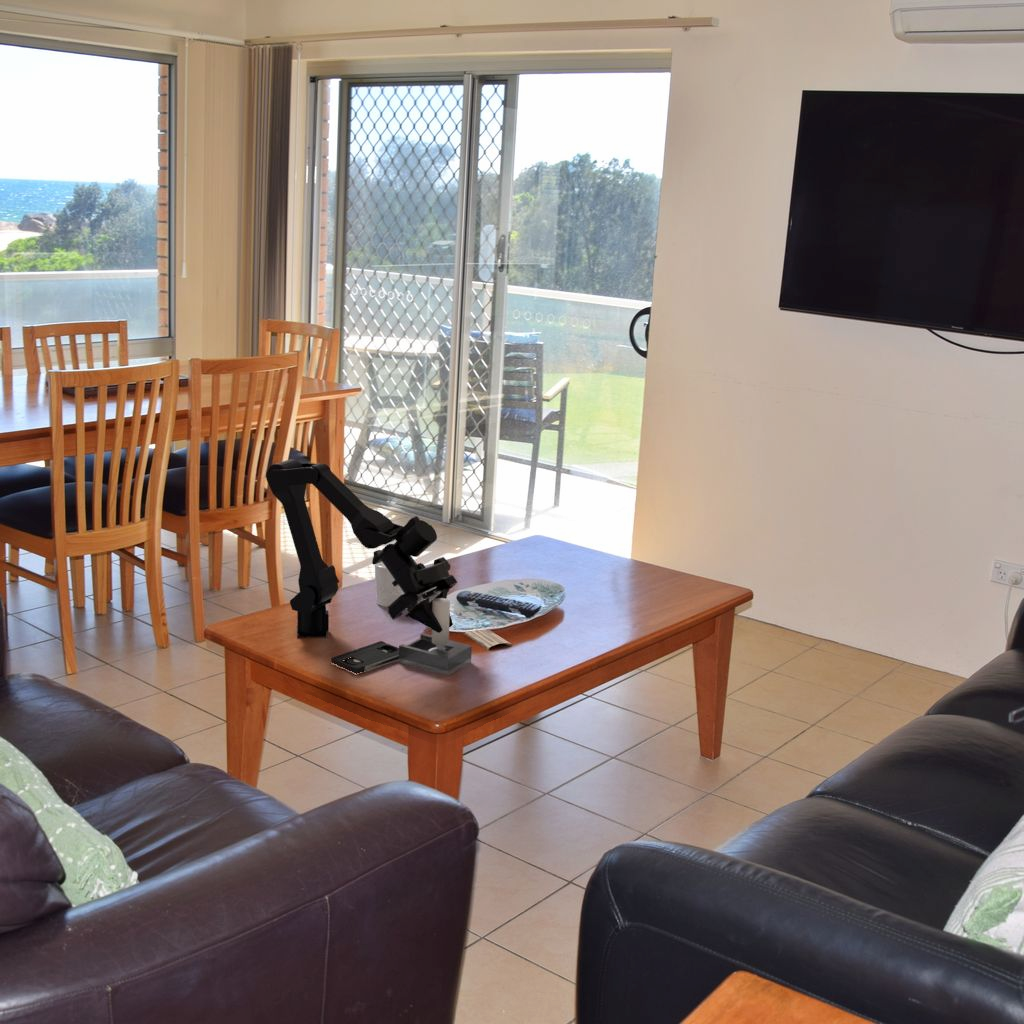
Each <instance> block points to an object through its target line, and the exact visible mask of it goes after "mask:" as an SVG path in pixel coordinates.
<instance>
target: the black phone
mask: <svg viewBox="0 0 1024 1024" xmlns="http://www.w3.org/2000/svg"><path fill="white" fill-rule="evenodd" d="M350 657H351V658H350ZM348 658H349V659H348ZM345 659H346V660H345ZM343 660H345V661H343ZM397 661H399V647H398V646H394V645H391V644H389V643H386V642H384V641H383V640H379V641H377V642H374V643H370V644H368V645H364V646H362V647H359V648H357V649H354V650H350V651H346V652H344V653H342V654H339V655H336V656H332V657H331V658H330V663H331V662H332V663H334V664H337V665H338V666H340V667H343V668H345V669H347V670H349V671H352V672H354V673H356V674H357V673H360V672H364V671H367V672H369V671H368V670H370V671H372V670H371V669H373V670H375V669H378V668H381V667H384V666H386V665H389V664H391V663H394V662H397ZM383 665H384V666H383ZM380 666H381V667H380ZM377 667H378V668H377ZM364 673H365V672H364Z"/></svg>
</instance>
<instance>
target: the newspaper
mask: <svg viewBox="0 0 1024 1024" xmlns="http://www.w3.org/2000/svg"><path fill="white" fill-rule="evenodd" d="M463 635H465V636H466V637H468V638H469V639H471V640H473V641H474V642H475V643H477V644H479V645H480V646H482V647H483V648H484V649H486V650H487V651H489V650H490V648H491V647H494V646H496V645H500V644H504V645H506V646H510V647H511V646H512V643H510V642H509V641H507V640H506V639H504V638H503V637H501V636H499V635H498V634H496V633H495V632H493V631H492V630H490V629H489V630H476V631H468V632H465V633H463Z"/></svg>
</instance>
